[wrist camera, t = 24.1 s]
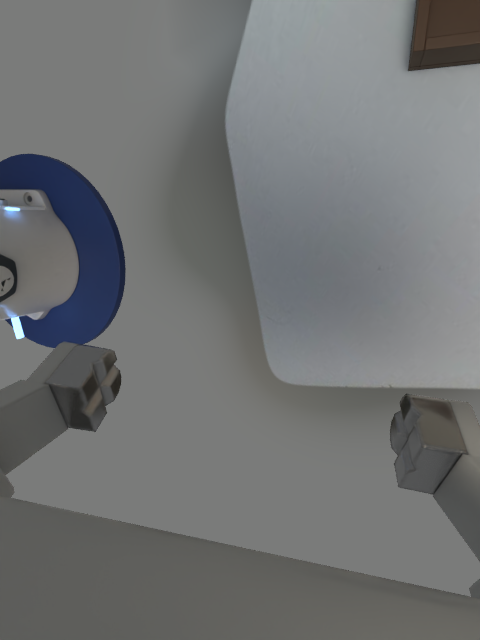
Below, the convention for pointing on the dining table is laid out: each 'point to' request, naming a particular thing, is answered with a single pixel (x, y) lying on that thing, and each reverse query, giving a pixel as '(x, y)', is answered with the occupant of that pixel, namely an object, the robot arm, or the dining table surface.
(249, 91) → the dining table surface
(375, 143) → the dining table surface
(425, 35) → the tray
